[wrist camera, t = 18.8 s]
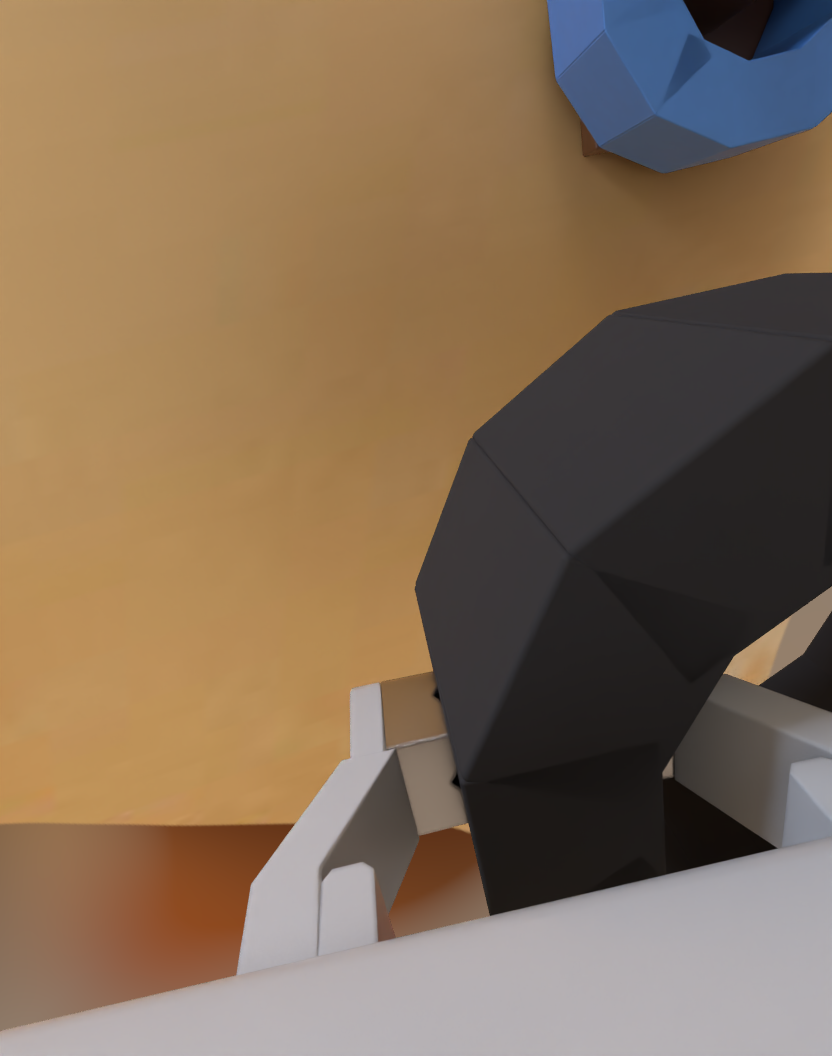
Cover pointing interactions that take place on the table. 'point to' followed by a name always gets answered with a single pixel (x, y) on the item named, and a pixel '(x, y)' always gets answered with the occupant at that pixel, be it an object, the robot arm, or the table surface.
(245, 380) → the table surface
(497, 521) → the ring
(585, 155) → the wooden stand
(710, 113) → the blue tape
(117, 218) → the table surface
